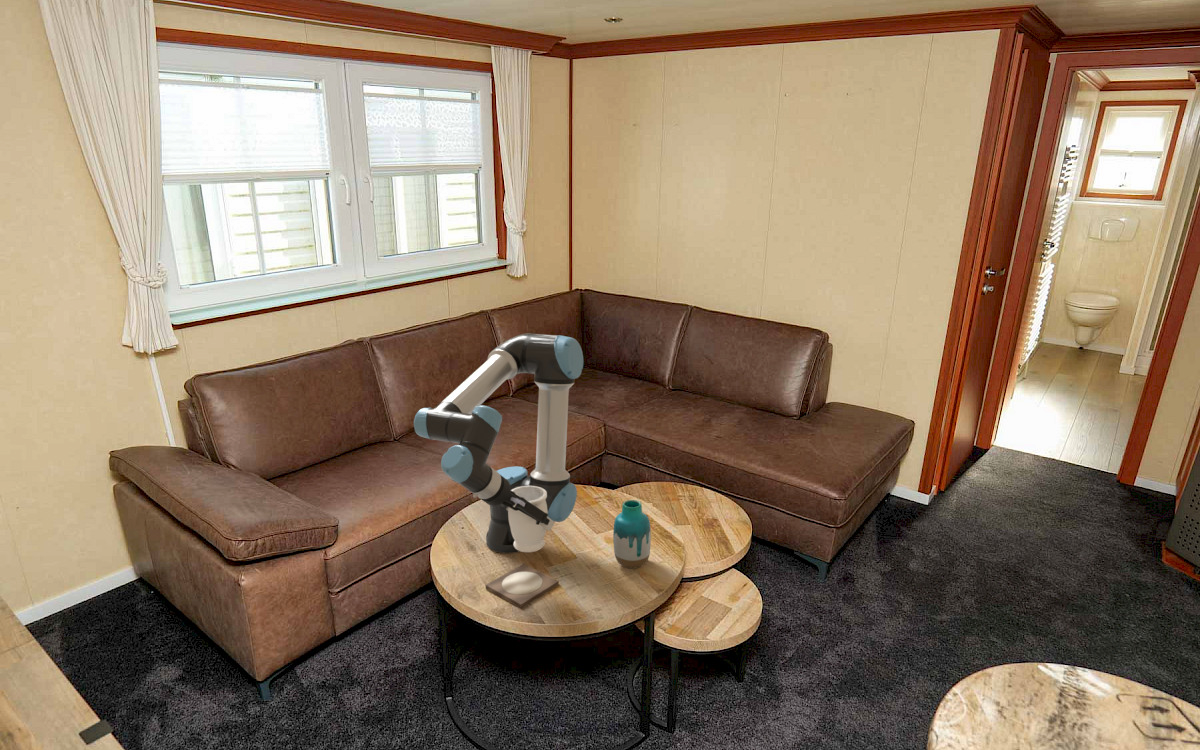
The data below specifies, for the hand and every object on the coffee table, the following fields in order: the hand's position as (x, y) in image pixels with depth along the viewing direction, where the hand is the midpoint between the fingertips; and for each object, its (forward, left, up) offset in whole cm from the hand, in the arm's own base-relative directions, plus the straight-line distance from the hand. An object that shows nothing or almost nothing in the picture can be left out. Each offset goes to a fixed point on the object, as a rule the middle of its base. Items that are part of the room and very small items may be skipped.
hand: (536, 520), depth 185 cm
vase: (+14, +23, -19) cm, 33 cm away
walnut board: (-2, -5, -19) cm, 19 cm away
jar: (0, -3, -6) cm, 7 cm away
